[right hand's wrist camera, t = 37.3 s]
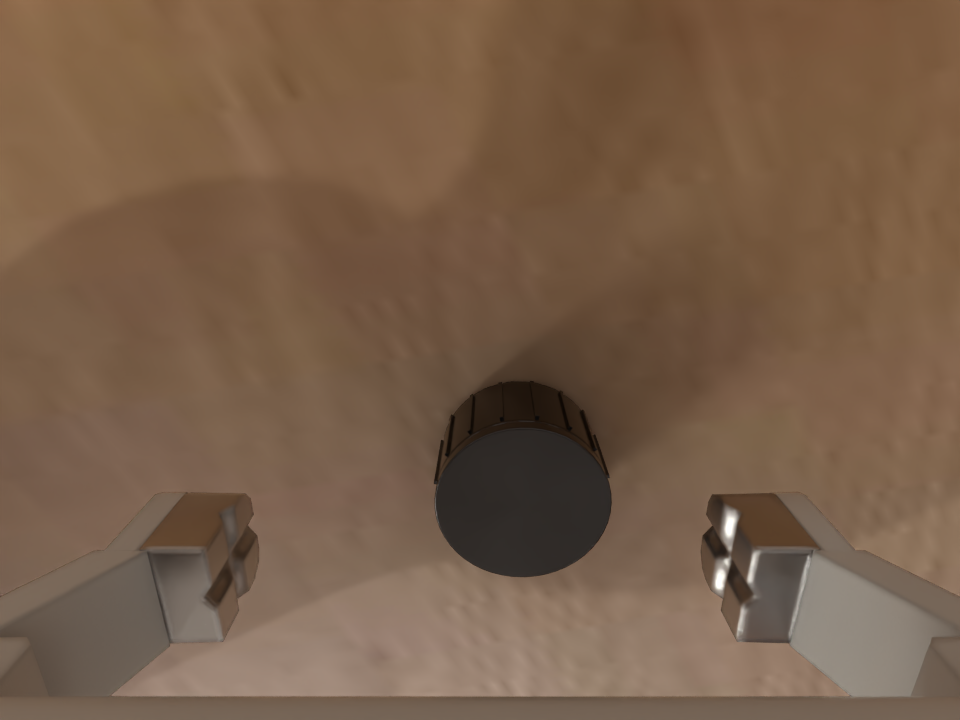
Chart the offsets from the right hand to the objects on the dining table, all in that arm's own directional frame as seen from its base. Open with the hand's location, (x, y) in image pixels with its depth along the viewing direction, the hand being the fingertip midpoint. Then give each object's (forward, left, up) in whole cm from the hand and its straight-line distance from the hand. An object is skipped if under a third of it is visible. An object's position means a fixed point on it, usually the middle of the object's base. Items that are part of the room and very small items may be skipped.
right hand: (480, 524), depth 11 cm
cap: (+1, 0, -2) cm, 2 cm away
